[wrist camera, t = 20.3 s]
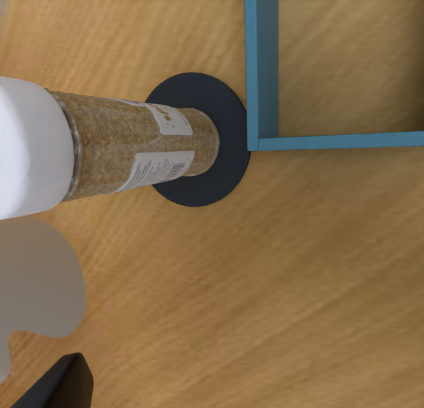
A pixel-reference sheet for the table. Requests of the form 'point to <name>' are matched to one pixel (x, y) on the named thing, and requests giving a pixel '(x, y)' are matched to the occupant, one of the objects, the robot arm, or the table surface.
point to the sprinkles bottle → (91, 146)
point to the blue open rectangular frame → (268, 94)
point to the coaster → (227, 129)
